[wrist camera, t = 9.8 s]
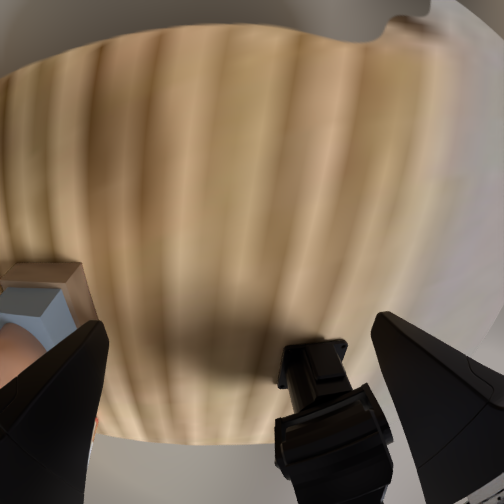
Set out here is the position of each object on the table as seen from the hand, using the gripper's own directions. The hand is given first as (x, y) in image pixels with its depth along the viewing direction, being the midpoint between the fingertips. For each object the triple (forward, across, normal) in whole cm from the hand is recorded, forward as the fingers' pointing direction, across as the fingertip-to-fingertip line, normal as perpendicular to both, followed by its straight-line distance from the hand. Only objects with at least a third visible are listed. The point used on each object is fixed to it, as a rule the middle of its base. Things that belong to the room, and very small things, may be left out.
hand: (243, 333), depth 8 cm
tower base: (+12, +16, +8) cm, 22 cm away
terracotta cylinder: (+5, +16, +8) cm, 19 cm away
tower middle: (+9, +16, +8) cm, 20 cm away
